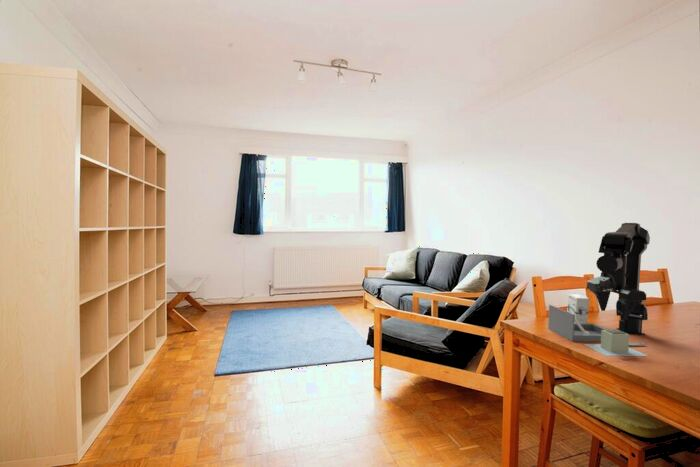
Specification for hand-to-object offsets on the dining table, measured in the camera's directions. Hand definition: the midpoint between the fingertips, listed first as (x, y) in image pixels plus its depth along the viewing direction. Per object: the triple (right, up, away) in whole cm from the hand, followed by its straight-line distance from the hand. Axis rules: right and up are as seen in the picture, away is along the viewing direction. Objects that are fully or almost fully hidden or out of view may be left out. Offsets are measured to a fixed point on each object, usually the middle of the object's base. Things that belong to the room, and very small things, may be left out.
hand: (613, 314), depth 117 cm
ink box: (+6, -11, +28) cm, 31 cm away
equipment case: (-2, -11, +12) cm, 17 cm away
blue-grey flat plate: (-2, -12, -3) cm, 12 cm away
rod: (+8, -11, +1) cm, 14 cm away
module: (-2, -11, -3) cm, 12 cm away
